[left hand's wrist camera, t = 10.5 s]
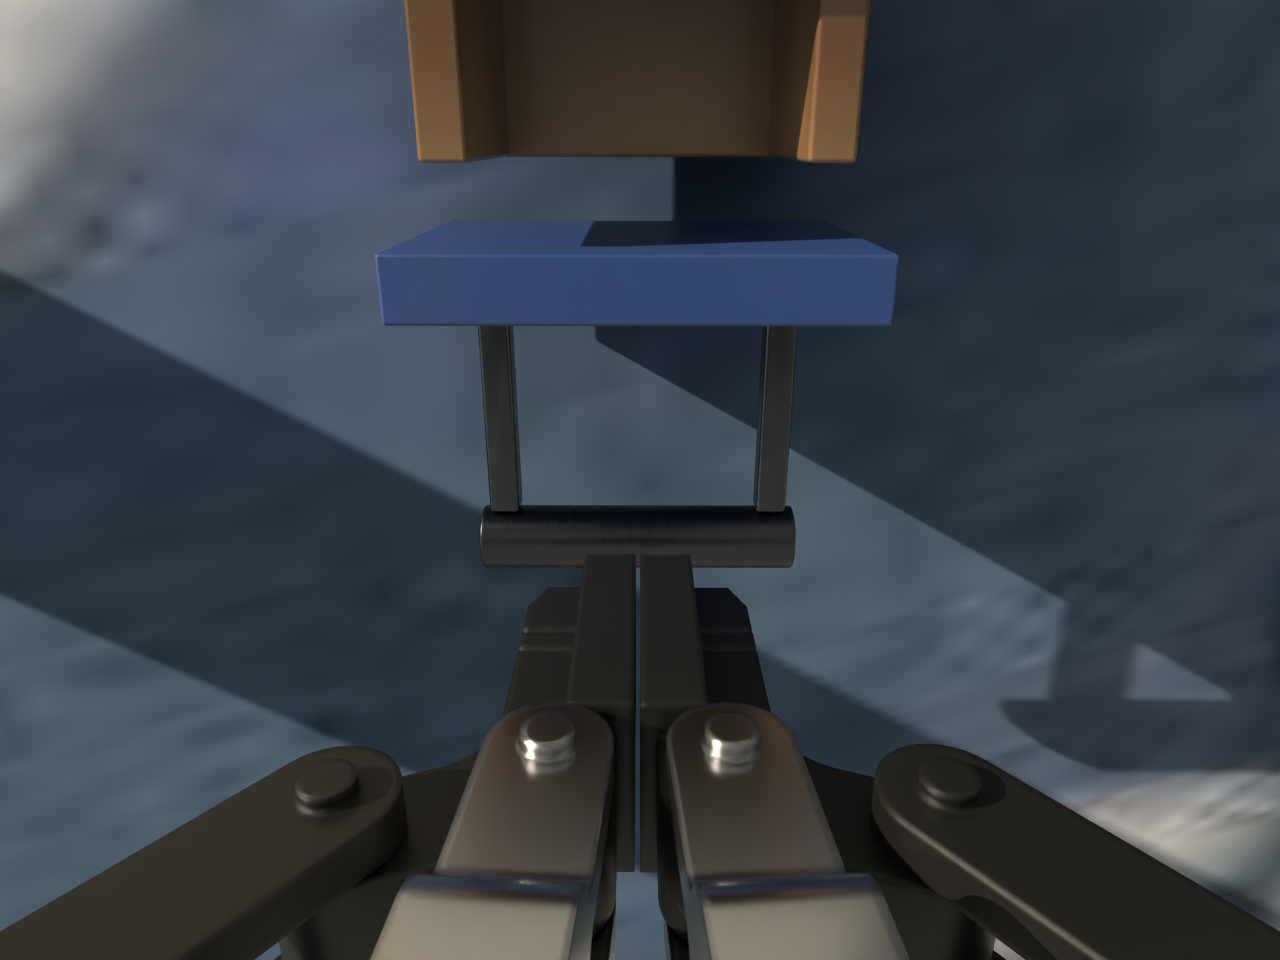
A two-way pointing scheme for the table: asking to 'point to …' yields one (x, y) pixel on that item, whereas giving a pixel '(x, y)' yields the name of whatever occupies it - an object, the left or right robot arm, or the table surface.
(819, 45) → the drawer
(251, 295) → the table surface
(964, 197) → the table surface
